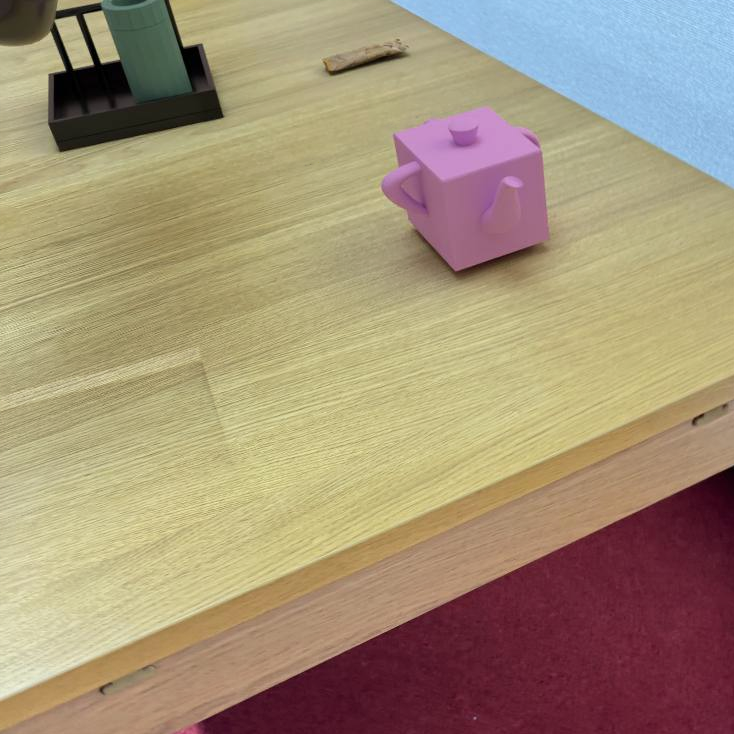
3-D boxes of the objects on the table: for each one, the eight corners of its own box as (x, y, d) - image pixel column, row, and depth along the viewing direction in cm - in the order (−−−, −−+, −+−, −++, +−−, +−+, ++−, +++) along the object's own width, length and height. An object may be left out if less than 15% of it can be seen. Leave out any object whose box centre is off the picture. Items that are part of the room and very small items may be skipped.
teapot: (600, 266, 85) (595, 145, 78) (444, 321, 81) (423, 200, 74) (503, 179, 97) (490, 67, 89) (362, 224, 93) (337, 111, 86)
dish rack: (59, 151, 108) (20, 58, 101) (59, 100, 118) (23, 12, 111) (223, 117, 111) (196, 24, 104) (210, 69, 121) (184, -19, 114)
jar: (139, 119, 110) (101, 13, 102) (136, 97, 114) (100, -6, 106) (196, 107, 111) (163, 2, 103) (192, 86, 115) (159, -17, 107)
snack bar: (329, 70, 116) (319, 52, 117) (330, 81, 117) (321, 63, 118) (409, 47, 118) (399, 30, 119) (410, 58, 119) (400, 41, 121)
